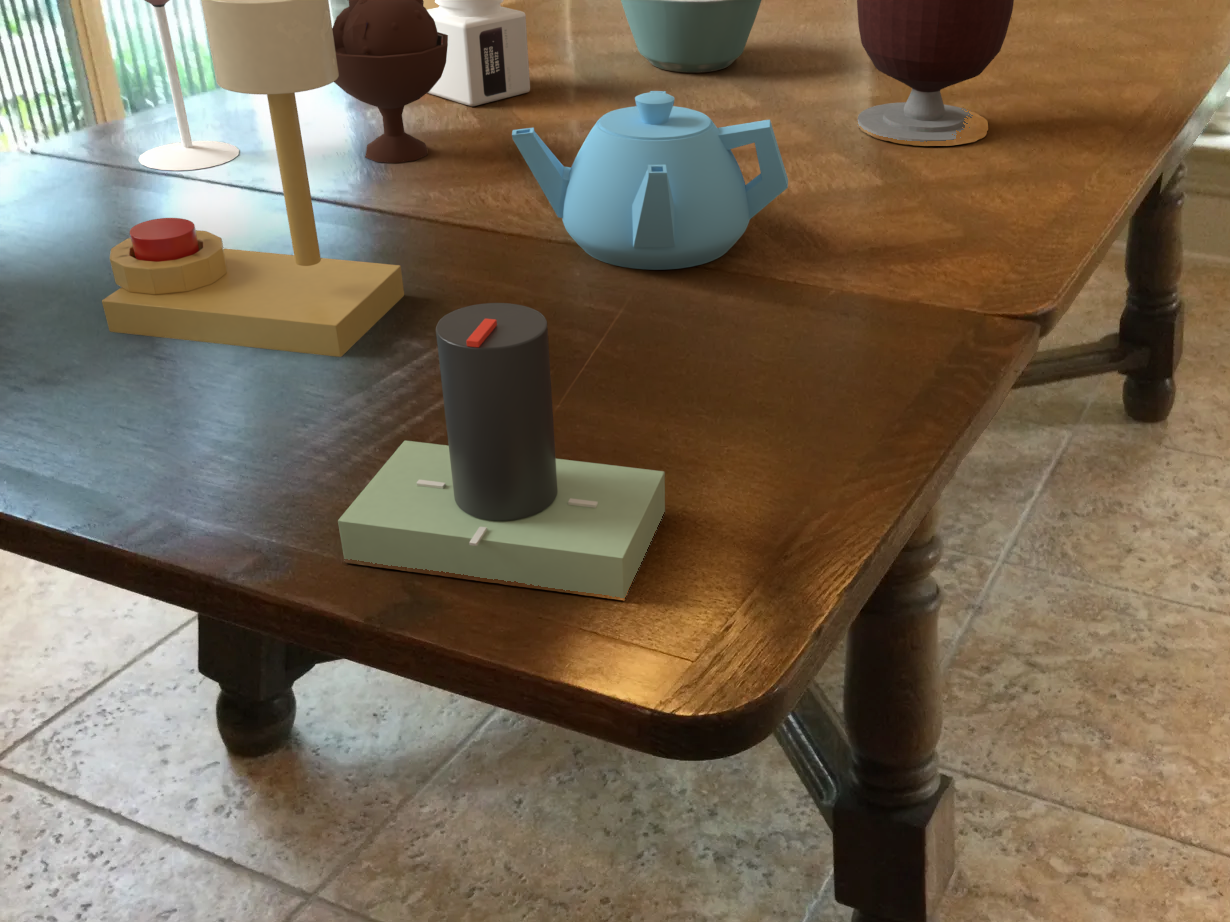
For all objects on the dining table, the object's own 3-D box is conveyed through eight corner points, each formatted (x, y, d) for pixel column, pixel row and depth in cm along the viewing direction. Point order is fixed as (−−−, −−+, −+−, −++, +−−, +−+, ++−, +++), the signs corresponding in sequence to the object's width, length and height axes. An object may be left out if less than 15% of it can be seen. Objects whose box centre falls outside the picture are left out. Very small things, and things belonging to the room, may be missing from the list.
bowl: (738, 88, 137) (740, 2, 132) (595, 73, 141) (592, -10, 136) (780, 52, 150) (783, -27, 145) (647, 39, 153) (646, -38, 149)
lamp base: (88, 330, 87) (73, 271, 85) (172, 272, 95) (160, 217, 93) (341, 357, 84) (331, 297, 82) (404, 295, 92) (397, 239, 90)
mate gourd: (904, 158, 119) (926, -90, 108) (820, 117, 129) (833, -113, 118) (1041, 135, 125) (1076, -101, 114) (951, 98, 135) (975, -122, 124)
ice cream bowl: (318, 144, 120) (291, -37, 111) (439, 129, 124) (422, -46, 116) (348, 179, 112) (322, -12, 104) (477, 162, 116) (461, -23, 108)
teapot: (651, 299, 92) (649, 142, 86) (511, 241, 101) (501, 95, 95) (797, 242, 101) (804, 97, 95) (658, 194, 110) (657, 58, 104)
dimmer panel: (339, 570, 65) (331, 524, 63) (414, 475, 72) (408, 431, 71) (620, 609, 62) (619, 562, 61) (668, 506, 70) (667, 462, 68)
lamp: (230, 277, 84) (175, -2, 75) (283, 237, 90) (238, -26, 81) (334, 287, 83) (291, 6, 74) (381, 247, 89) (347, -19, 80)
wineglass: (216, 133, 122) (165, -137, 110) (260, 159, 116) (211, -123, 104) (118, 150, 117) (53, -129, 105) (159, 179, 111) (95, -114, 99)
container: (532, 92, 135) (523, -48, 127) (471, 108, 130) (459, -37, 123) (482, 78, 139) (471, -58, 132) (421, 92, 134) (406, -48, 127)
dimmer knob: (475, 463, 68) (458, 291, 63) (570, 474, 67) (560, 301, 62) (438, 514, 64) (417, 335, 59) (539, 527, 63) (526, 346, 58)
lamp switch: (122, 262, 87) (116, 236, 86) (156, 240, 90) (151, 215, 89) (179, 267, 86) (173, 241, 85) (211, 245, 90) (206, 220, 89)
